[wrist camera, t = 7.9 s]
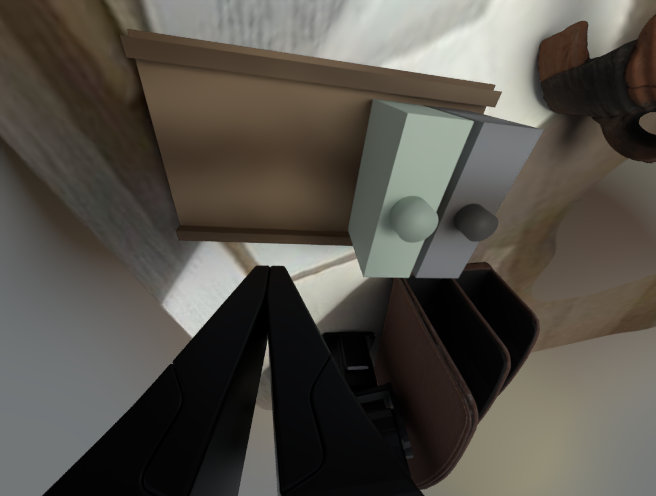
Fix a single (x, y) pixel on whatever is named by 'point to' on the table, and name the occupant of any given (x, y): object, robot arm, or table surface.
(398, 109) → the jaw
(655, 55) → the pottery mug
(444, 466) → the letter holder
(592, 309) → the table surface
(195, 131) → the brown boxy piece
